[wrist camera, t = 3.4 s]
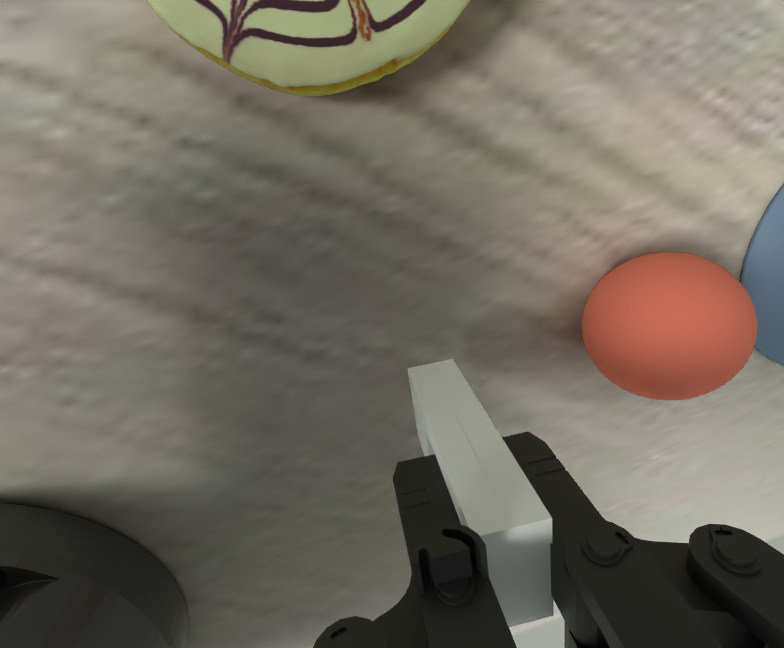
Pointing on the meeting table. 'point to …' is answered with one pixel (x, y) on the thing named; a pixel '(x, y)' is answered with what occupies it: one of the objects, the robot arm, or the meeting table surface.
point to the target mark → (768, 279)
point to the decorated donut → (310, 38)
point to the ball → (669, 326)
